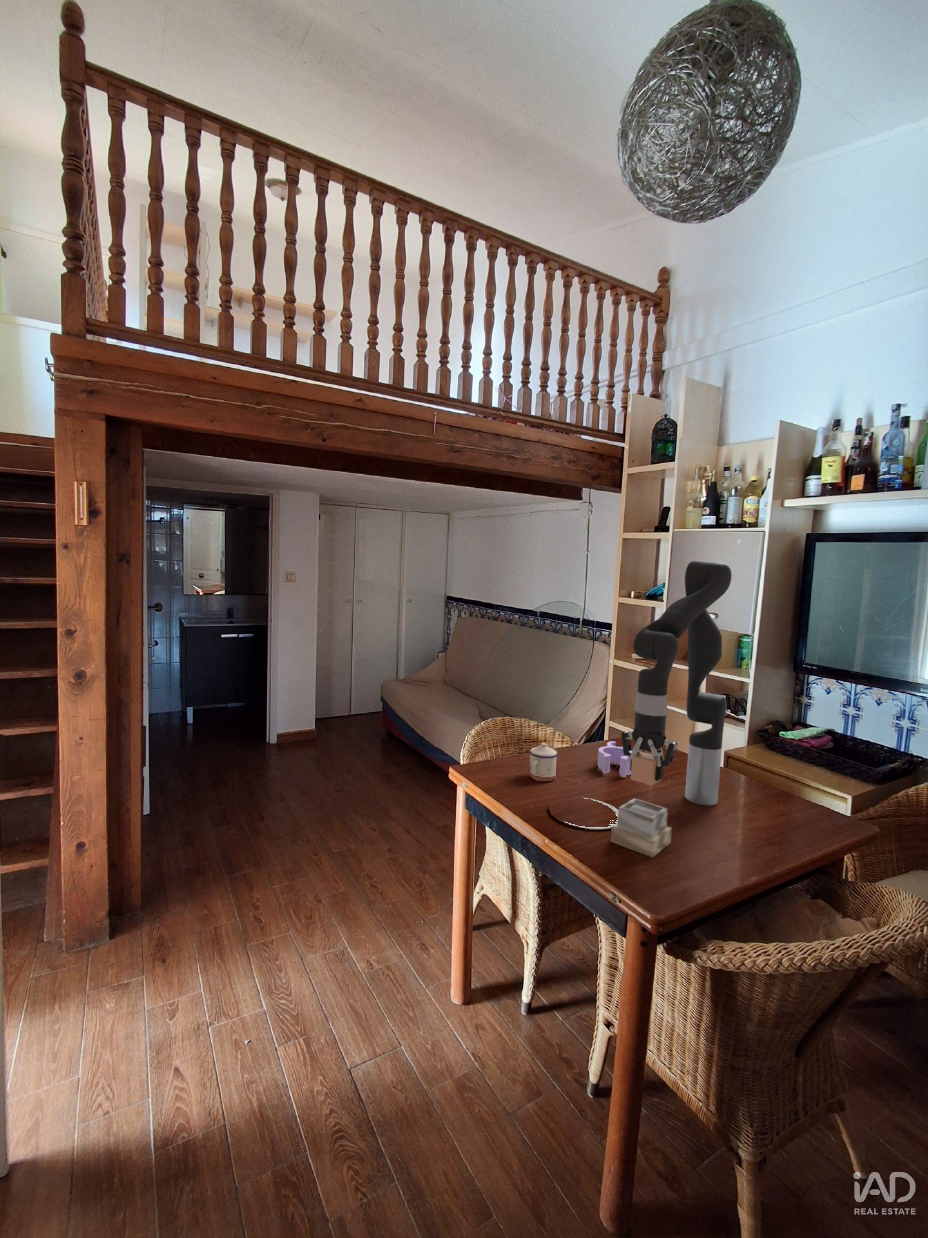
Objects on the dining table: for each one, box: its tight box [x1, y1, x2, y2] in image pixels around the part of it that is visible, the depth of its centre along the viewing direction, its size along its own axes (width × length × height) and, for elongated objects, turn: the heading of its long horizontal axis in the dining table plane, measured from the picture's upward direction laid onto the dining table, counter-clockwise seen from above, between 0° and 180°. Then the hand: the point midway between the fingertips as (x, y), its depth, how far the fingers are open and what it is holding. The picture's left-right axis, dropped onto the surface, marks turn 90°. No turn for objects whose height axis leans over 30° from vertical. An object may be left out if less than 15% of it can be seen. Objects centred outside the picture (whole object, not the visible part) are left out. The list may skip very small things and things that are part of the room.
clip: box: [597, 740, 631, 778], centre depth 198 cm, size 20×12×7 cm, turn 160°
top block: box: [630, 751, 662, 787], centre depth 140 cm, size 6×6×6 cm
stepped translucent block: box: [610, 797, 673, 859], centre depth 142 cm, size 11×11×9 cm
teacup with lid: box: [528, 742, 558, 777], centre depth 183 cm, size 12×9×12 cm
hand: (645, 776), depth 141 cm, fingers closed on top block, 5 cm apart
